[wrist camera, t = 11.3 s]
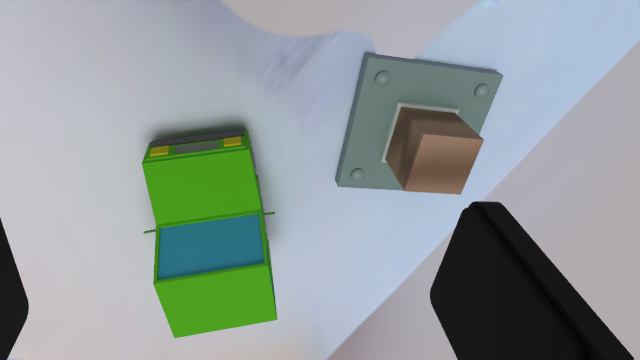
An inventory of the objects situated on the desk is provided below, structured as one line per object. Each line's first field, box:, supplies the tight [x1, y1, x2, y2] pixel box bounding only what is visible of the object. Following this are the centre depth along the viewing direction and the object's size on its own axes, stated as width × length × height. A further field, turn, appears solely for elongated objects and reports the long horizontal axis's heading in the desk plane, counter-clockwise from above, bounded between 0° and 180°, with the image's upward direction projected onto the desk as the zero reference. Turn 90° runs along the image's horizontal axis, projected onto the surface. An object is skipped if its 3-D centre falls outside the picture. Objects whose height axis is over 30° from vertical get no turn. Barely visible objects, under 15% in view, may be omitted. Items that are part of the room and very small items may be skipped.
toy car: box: [142, 129, 277, 338], centre depth 34 cm, size 10×13×10 cm
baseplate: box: [335, 53, 503, 190], centre depth 38 cm, size 12×12×2 cm
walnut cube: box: [385, 107, 484, 194], centre depth 35 cm, size 5×5×5 cm
